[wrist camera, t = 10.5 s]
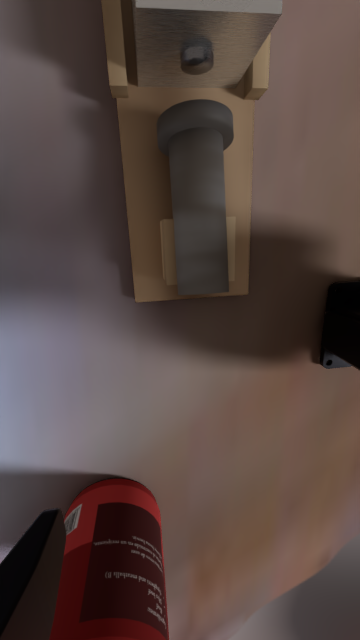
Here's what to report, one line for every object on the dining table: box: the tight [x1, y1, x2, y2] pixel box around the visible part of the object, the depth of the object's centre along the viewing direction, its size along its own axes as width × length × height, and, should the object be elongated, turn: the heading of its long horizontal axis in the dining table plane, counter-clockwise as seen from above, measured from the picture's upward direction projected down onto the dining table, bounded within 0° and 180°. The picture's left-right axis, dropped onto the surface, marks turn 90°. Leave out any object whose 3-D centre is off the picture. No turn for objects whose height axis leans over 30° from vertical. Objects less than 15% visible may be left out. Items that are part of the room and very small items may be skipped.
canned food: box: [49, 479, 169, 640], centre depth 18 cm, size 8×8×11 cm
